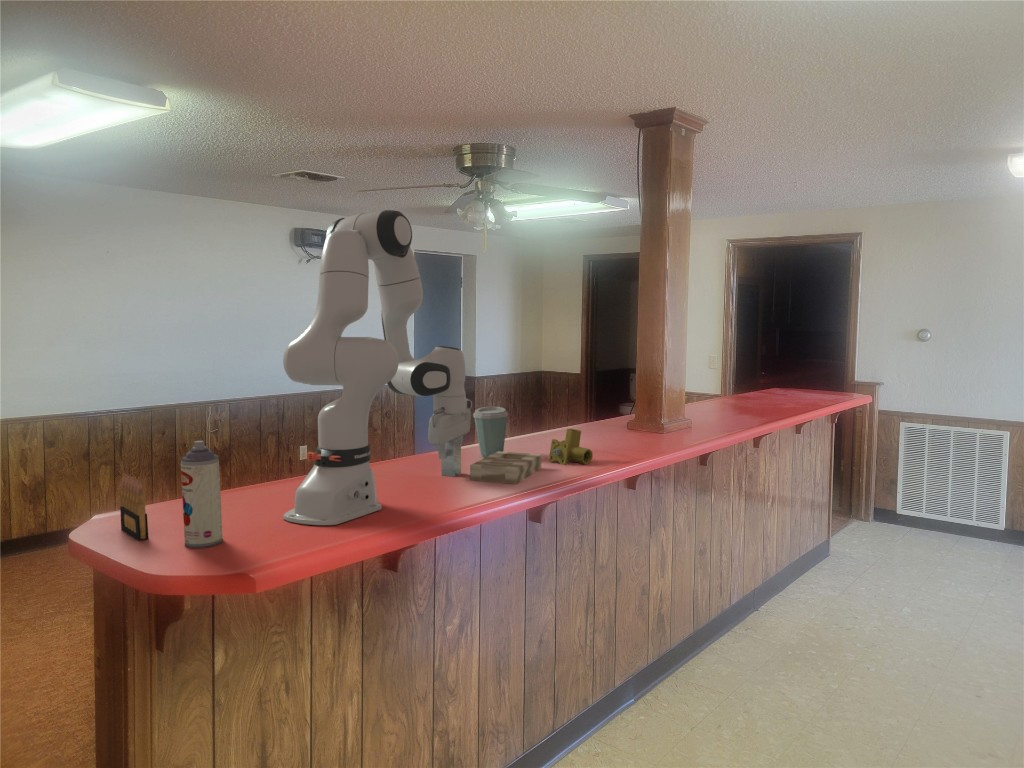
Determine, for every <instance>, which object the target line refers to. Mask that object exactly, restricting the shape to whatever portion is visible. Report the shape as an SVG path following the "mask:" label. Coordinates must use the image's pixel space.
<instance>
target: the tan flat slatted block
mask: <svg viewBox="0 0 1024 768" xmlns="http://www.w3.org/2000/svg"><path fill="white" fill-rule="evenodd" d="M541 469H542V454H540V453H539V454H537V453H528V452H527V453H525V452H512V451H511V452H510V451H503V452H500V451H498V452H496V453H494V454H492V455H490V456H488V457H486V458H481V459H480V460H478V461H476V462H474V463H471V464H470V465H469V480H470V481H477V482H488V483H489V482H490V483H491V482H492V483H499V484H500V483H501V484H502V483H503V484H512V485H513V484H514V485H517V484H519V483H520V482H522V481H524V480H525V479H526V478H528V477H530V476H531V475H533V474H534V473H536V472H538V471H540V470H541Z"/></svg>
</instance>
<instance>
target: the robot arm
mask: <svg viewBox="0 0 1024 768" xmlns="http://www.w3.org/2000/svg"><path fill="white" fill-rule="evenodd" d="M412 241H413V231H412V225H411V223H410V221H409V219H408V218H407V217H406V216H405V214H403V213H402V212H401V211H399V210H391V209H388V210H387V209H386V210H382V211H373V212H361V213H357V214H355V215H351V216H347V217H342V218H338V219H335V221H333V222H332V223H330V224H329V225H328V227H327V231H326V234H325V240H324V244H323V247H322V252H321V255H320V256H321V258H320V265H319V275H318V276H319V277H318V278H319V279H318V281H319V282H318V294H317V303H316V308H315V311H314V314H313V317H312V319H311V320H310V323H309V324H308V326H307V327H306V328H305V329H304V331H303V332H302V333H301V334H300V335H298V337H296V338H294V339H293V340H292V341H290V343H289V344H288V345H287V346H286V348H285V351H284V352H283V359H282V364H283V369H284V371H285V374H286V375H287V376H288V378H289V379H290V380H291V381H292V382H294V383H299V384H304V385H308V386H309V385H310V386H341V387H342V389H343V390H342V393H341V396H340V397H338V398H336V399H335V400H333V401H331V402H330V403H327V404H326V405H324V406H323V407H322V408H321V409H320V411H319V413H318V414H317V415H318V416H317V435H318V436H317V438H318V439H317V440H318V445H317V447H316V451H315V452H312V451H308V452H307V454H306V457H305V458H306V460H307V461H308V462H313V464H314V465H313V467H312V468H311V470H310V471H309V472H308V474H307V475H306V476H305V478H304V479H303V480H302V482H301V483H300V484H299V486H298V487H297V488H296V491H295V494H294V495H295V496H294V508H291V509H290V510H288V511H287V512H285V513H283V518H282V519H283V520H285V521H287V522H290V523H294V524H295V523H296V524H302V525H309V526H310V525H312V526H335V525H336V526H337V525H339V524H343V523H345V522H349V521H351V520H354V519H358V518H360V517H363V516H366V515H369V514H371V513H374V512H377V511H381V510H382V504H381V503H380V502H378V496H377V486H376V485H377V484H376V477H375V473H374V471H373V469H372V468H371V464H370V460H371V451H372V450H371V446H370V444H369V436H368V435H369V416H370V415H369V414H370V411H371V407H372V406H371V405H372V404H373V401H374V399H375V397H376V396H377V394H378V393H379V392H380V390H381V389H382V388H383V387H384V386H386V385H387V386H388V387H389V389H390V390H391V391H392V392H394V393H396V394H398V395H410V396H414V397H415V396H417V397H423V398H426V397H430V396H432V398H433V399H432V407H433V409H432V410H433V414H432V415H431V416H430V418H429V422H428V436H427V437H428V443H429V445H433V446H434V445H435V446H436V450H437V453H438V459H439V460H441V459H445V458H447V452H446V451H445V446H446V442H449V441H451V440H453V439H455V438H461V445H462V444H463V440H464V435H466V434H468V433H469V432H470V431H471V430H470V429H471V421H472V420H471V419H472V417H471V416H472V412H471V408H472V407H473V402H472V400H471V399H469V398H467V396H466V389H465V381H466V363H465V356H464V354H463V353H464V352H463V351H462V350H461V349H459V348H457V347H451V346H446V345H445V346H444V345H438V346H435V348H434V349H433V350H432V351H430V353H428V354H427V355H425V356H423V357H421V358H419V359H415V357H413V356H412V354H411V351H410V345H409V338H408V331H407V328H408V327H407V325H408V321H409V319H410V317H411V316H413V315H414V313H416V312H417V311H418V309H419V308H420V307H421V305H422V303H423V300H424V291H423V283H422V279H421V275H420V272H419V266H418V263H417V260H416V258H415V255H414V253H413V250H412V247H411V244H412ZM369 260H371V261H372V262H373V265H374V266H373V267H374V275H375V281H376V284H377V290H378V293H379V299H380V305H381V310H380V311H381V313H380V315H381V326H382V332H383V339H382V338H376V337H371V336H355V337H354V336H342V335H343V333H344V330H345V329H346V328H347V327H348V326H349V325H351V324H353V323H355V322H357V321H359V320H361V318H363V317H364V316H365V315H366V313H367V310H368V309H369V283H370V282H369V280H370V279H369V277H370V276H369V274H370V271H369V269H370V268H369Z"/></svg>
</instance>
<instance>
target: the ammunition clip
mask: <svg viewBox="0 0 1024 768" xmlns="http://www.w3.org/2000/svg"><path fill="white" fill-rule="evenodd" d="M120 499H121V505H120V507H119V509H120V510H119V511H120V530H121V531H122V532H123V533H125V534H127V535H128V536H130V537H131V538H133V539H135V540H137V541H138V542H140V541H145V540H149V539H150V537H149V525H148V513H146V501H145V496H144V488H143V483H142V482H141V479H138V478H137V477H136V478H135V477H134V476H131V475H129V474H126V473H125V472H123V473H122V477H121V492H120Z"/></svg>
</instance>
